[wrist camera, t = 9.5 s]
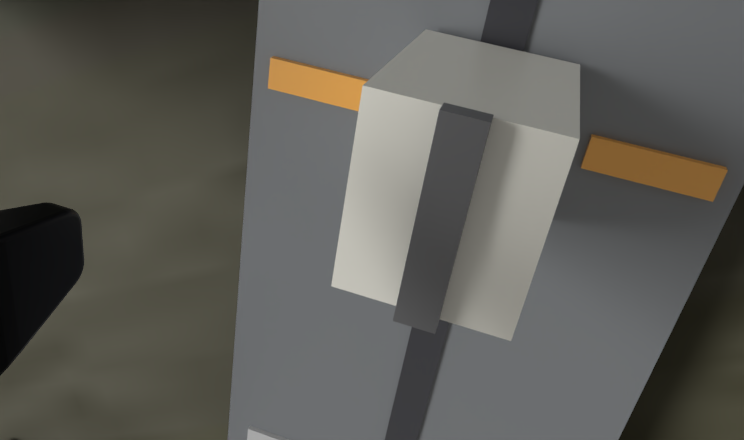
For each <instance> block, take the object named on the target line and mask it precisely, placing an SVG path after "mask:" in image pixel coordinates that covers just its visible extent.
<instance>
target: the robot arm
mask: <svg viewBox="0 0 744 440" xmlns="http://www.w3.org/2000/svg"><path fill="white" fill-rule="evenodd" d="M83 266H84V253H83V240H82V226H81V219H80V217H79V215H78V213H77V212H76V211H74V210H73V209H69V208H66V207H63V206H60V205H56V204H53V203H40V204H34V205H28V206H23V207H17V208H11V209H5V210H0V375H1V374H2V373H3V372H4V371H5V370H6V369H7V368H8V367H9V366H10V364H11V363H12V362H13V361H14V360H15V358H16V357H17V356H18V355H19V354H20V353H21V351H22V350H23V349H24V348H25V346H26V345H27V344H28V343H29V341H30V340H31V339H32V338H33V336H34V335H35V334H36V332H37V331H38V330H39V329H40V327H41V326H42V325H43V324H44V322H45V321H46V320H47V319H48V317H49V316H50V315H51V314H52V312H53V311H54V310H55V309H56V307H57V306H58V305H59V304H60V302H61V301H62V300H63V299H64V297H65V296H66V295H67V293H68V292H69V291H70V290H71V288H72V287H73V286H74V285H75V283H76V282H77V281H78V279H79V277H80V275H81V273H82V270H83Z"/></svg>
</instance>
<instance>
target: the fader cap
mask: <svg viewBox="0 0 744 440" xmlns="http://www.w3.org/2000/svg"><path fill="white" fill-rule="evenodd" d="M579 140H580V64H576V63H572V62H567V61H563V60H558V59H554V58H550V57H545V56H541V55H537V54H532V53H528V52H523V51H519V50H515V49H510V48H506V47H501V46H497V45H493V44H488V43H484V42H480V41H475V40H471V39H466V38H462V37H458V36H453V35H449V34H444V33H440V32H436V31H431V30H427V29H426V30H425V31H423V32H422V33H421V34H420V35H419V36H418V37H417V38H416V39H414V40H413V41H412V42H411V43H410V44H409V45H408V46H407V47H405V48H404V49H403V50H402V51H401V52H400V53H399V54H397V55H396V56H395V57H394V58H393V59H392V60H391V61H390V62H388V63H387V64H386V65H385V66H384V67H383V68H382V69H381V70H379V71H378V72H377V73H376V74H375V75H374V76H373V77H372V78H370V79H369V80H368V81H367V82H366V83H365V84H364V85H363V86H362V92H361V99H360V105H359V112H358V118H357V124H356V131H355V137H354V143H353V150H352V156H351V163H350V169H349V175H348V182H347V188H346V194H345V201H344V207H343V214H342V220H341V226H340V233H339V239H338V245H337V252H336V258H335V265H334V271H333V277H332V284H331V286H332V287H335V288H339V289H342V290H345V291H348V292H352V293H355V294H358V295H361V296H365V297H368V298H371V299H375V300H378V301H381V302H384V303H388V304H391V305H394V306H396V308H395V313H394V317H393V321H394V322H398V323H401V324H404V325H407V326H411V327H414V328H417V329H420V330H423V331H427V332H430V333H433V334H435V332H436V329H437V326H438V323H439V320H443V321H447V322H450V323H453V324H456V325H460V326H463V327H466V328H469V329H473V330H476V331H479V332H483V333H486V334H489V335H492V336H496V337H499V338H502V339H505V340H509V341H511V340H512V337H513V334H514V331H515V328H516V325H517V323H518V320H519V317H520V314H521V311H522V308H523V305H524V302H525V299H526V296H527V293H528V290H529V287H530V284H531V281H532V278H533V275H534V273H535V270H536V267H537V264H538V261H539V258H540V255H541V252H542V249H543V246H544V243H545V240H546V237H547V234H548V231H549V228H550V226H551V223H552V220H553V217H554V214H555V211H556V208H557V205H558V202H559V199H560V196H561V193H562V190H563V187H564V184H565V181H566V178H567V176H568V173H569V170H570V167H571V164H572V161H573V158H574V155H575V152H576V149H577V146H578V143H579Z"/></svg>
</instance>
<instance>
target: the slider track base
mask: <svg viewBox="0 0 744 440" xmlns="http://www.w3.org/2000/svg"><path fill="white" fill-rule="evenodd" d="M426 29H427V30H431V31H436V32H440V33H444V34H449V35H453V36H458V37H462V38H466V39H471V40H475V41H480V42H484V43H488V44H493V45H497V46H501V47H506V48H510V49H515V50H519V51H523V52H528V53H532V54H537V55H541V56H545V57H550V58H554V59H558V60H563V61H567V62H572V63H576V64H580V140H579V143H578V146H577V149H576V152H575V155H574V158H573V161H572V164H571V167H570V170H569V173H568V176H567V178H566V181H565V184H564V187H563V190H562V193H561V196H560V199H559V202H558V205H557V208H556V211H555V214H554V217H553V220H552V223H551V226H550V228H549V231H548V234H547V237H546V240H545V243H544V246H543V249H542V252H541V255H540V258H539V261H538V264H537V267H536V270H535V273H534V275H533V278H532V281H531V284H530V287H529V290H528V293H527V296H526V299H525V302H524V305H523V308H522V311H521V314H520V317H519V320H518V323H517V325H516V328H515V331H514V334H513V337H512V340H511V341H509V340H505V339H502V338H499V337H496V336H492V335H489V334H486V333H483V332H479V331H476V330H473V329H469V328H466V327H463V326H460V325H456V324H453V323H450V322H447V321H443V320H439V323H438V326H437V329H436V332H435V334H433V333H430V332H427V331H423V330H420V329H417V328H414V327H411V326H407V325H404V324H401V323H398V322H394V321H393V317H394V313H395V308H396V306H394V305H391V304H388V303H384V302H381V301H378V300H375V299H371V298H368V297H365V296H361V295H358V294H355V293H352V292H348V291H345V290H342V289H339V288H335V287H332V286H331V284H332V277H333V271H334V265H335V258H336V252H337V245H338V239H339V233H340V226H341V220H342V214H343V207H344V201H345V194H346V188H347V182H348V175H349V169H350V163H351V156H352V150H353V143H354V137H355V131H356V124H357V118H358V112H359V105H360V99H361V92H362V86H363V85H364V84H365V83H366V82H367V81H368V80H369V79H370V78H372V77H373V76H374V75H375V74H376V73H377V72H378V71H379V70H381V69H382V68H383V67H384V66H385V65H386V64H387V63H388V62H390V61H391V60H392V59H393V58H394V57H395V56H396V55H397V54H399V53H400V52H401V51H402V50H403V49H404V48H405V47H407V46H408V45H409V44H410V43H411V42H412V41H413V40H414V39H416V38H417V37H418V36H419V35H420V34H421V33H422V32H423V31H425V30H426ZM743 185H744V0H259V8H258V22H257V36H256V50H255V64H254V78H253V92H252V106H251V120H250V134H249V148H248V162H247V176H246V190H245V204H244V218H243V232H242V246H241V260H240V274H239V288H238V302H237V316H236V330H235V344H234V358H233V372H232V386H231V400H230V414H229V428H228V440H618V439H619V437H620V435H621V433H622V431H623V429H624V427H625V425H626V423H627V421H628V419H629V417H630V415H631V413H632V411H633V409H634V407H635V405H636V403H637V401H638V399H639V397H640V395H641V393H642V391H643V388H644V386H645V384H646V382H647V380H648V378H649V376H650V374H651V372H652V370H653V368H654V366H655V364H656V362H657V360H658V358H659V356H660V354H661V352H662V350H663V348H664V346H665V344H666V342H667V340H668V338H669V336H670V334H671V331H672V329H673V327H674V325H675V323H676V321H677V319H678V317H679V315H680V313H681V311H682V309H683V307H684V305H685V303H686V301H687V299H688V297H689V295H690V293H691V291H692V289H693V287H694V285H695V283H696V281H697V279H698V277H699V275H700V272H701V270H702V268H703V266H704V264H705V262H706V260H707V258H708V256H709V254H710V252H711V250H712V248H713V246H714V244H715V242H716V240H717V238H718V236H719V234H720V232H721V230H722V228H723V226H724V224H725V222H726V220H727V218H728V215H729V213H730V211H731V209H732V207H733V205H734V203H735V201H736V199H737V197H738V195H739V193H740V191H741V189H742V187H743Z"/></svg>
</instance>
